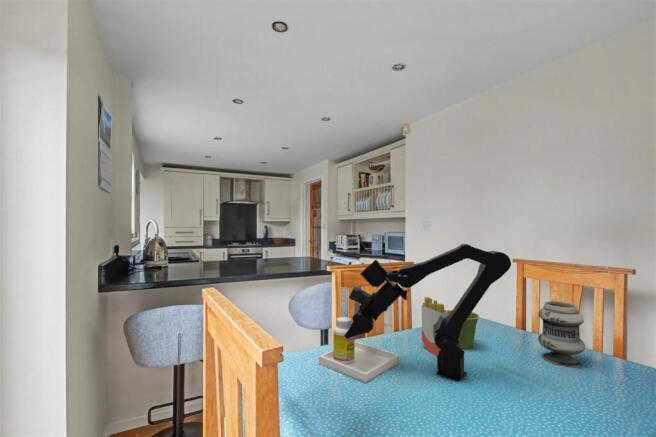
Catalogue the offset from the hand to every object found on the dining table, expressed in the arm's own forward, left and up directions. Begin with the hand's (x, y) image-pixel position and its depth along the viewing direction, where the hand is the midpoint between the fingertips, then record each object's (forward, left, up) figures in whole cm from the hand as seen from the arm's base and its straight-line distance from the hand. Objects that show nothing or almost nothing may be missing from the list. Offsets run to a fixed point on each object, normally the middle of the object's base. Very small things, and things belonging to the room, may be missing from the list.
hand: (348, 332), depth 98 cm
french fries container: (-17, -27, -10) cm, 33 cm away
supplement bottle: (+1, +1, -9) cm, 9 cm away
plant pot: (-21, -39, -10) cm, 45 cm away
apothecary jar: (-49, -48, -10) cm, 69 cm away
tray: (-3, -2, -10) cm, 10 cm away
